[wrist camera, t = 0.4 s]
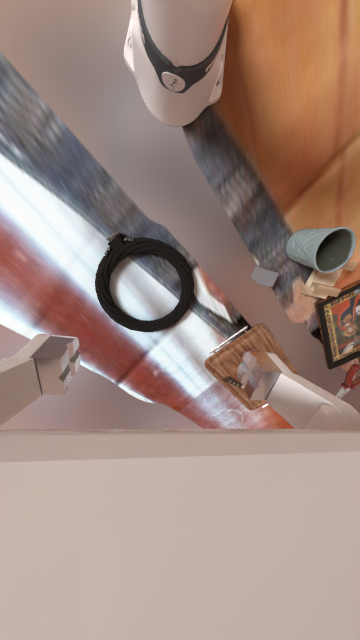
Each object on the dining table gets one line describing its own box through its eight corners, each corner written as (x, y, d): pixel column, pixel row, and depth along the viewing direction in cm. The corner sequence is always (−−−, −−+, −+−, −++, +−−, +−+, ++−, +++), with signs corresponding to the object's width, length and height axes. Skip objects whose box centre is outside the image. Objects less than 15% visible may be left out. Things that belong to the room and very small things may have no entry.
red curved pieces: (325, 395, 89) (330, 399, 87) (352, 362, 81) (358, 366, 79) (343, 396, 92) (348, 401, 90) (372, 365, 83) (378, 369, 81)
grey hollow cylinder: (295, 221, 51) (331, 221, 40) (324, 232, 53) (366, 234, 42) (277, 258, 55) (305, 267, 44) (304, 267, 57) (338, 277, 47)
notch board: (324, 248, 55) (339, 250, 51) (346, 254, 57) (362, 256, 52) (301, 292, 61) (312, 298, 57) (320, 296, 63) (333, 302, 58)
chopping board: (303, 382, 83) (308, 388, 81) (252, 411, 89) (255, 417, 86) (259, 315, 64) (263, 319, 61) (197, 358, 70) (199, 363, 67)
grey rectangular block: (255, 265, 55) (266, 270, 50) (267, 268, 56) (278, 273, 51) (250, 278, 57) (260, 284, 52) (261, 281, 58) (272, 287, 52)
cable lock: (130, 348, 60) (62, 262, 46) (132, 341, 63) (68, 259, 49) (209, 309, 57) (161, 205, 43) (206, 304, 60) (161, 206, 46)
